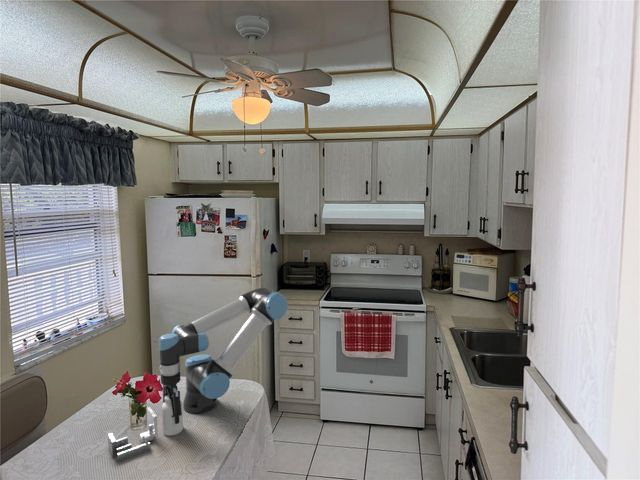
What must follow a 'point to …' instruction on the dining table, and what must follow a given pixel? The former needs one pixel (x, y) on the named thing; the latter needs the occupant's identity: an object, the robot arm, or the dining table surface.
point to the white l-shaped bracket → (150, 427)
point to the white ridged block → (124, 447)
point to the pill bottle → (169, 418)
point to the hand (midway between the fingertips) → (172, 425)
